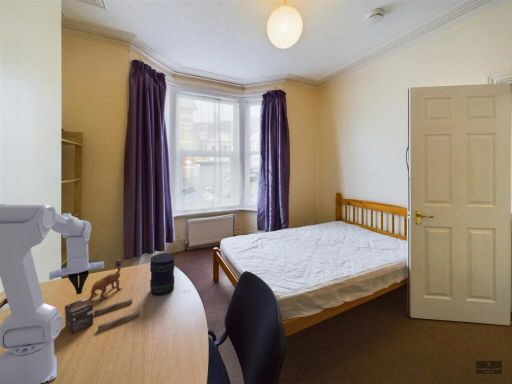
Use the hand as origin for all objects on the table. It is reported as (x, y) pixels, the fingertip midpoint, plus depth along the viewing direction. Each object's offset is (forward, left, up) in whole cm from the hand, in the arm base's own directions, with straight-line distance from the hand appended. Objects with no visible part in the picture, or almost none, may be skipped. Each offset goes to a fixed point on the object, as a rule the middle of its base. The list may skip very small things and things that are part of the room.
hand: (79, 292), depth 75 cm
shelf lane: (+10, -6, -9) cm, 15 cm away
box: (0, -4, -10) cm, 11 cm away
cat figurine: (+8, +11, -10) cm, 17 cm away
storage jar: (+29, +1, -10) cm, 30 cm away
